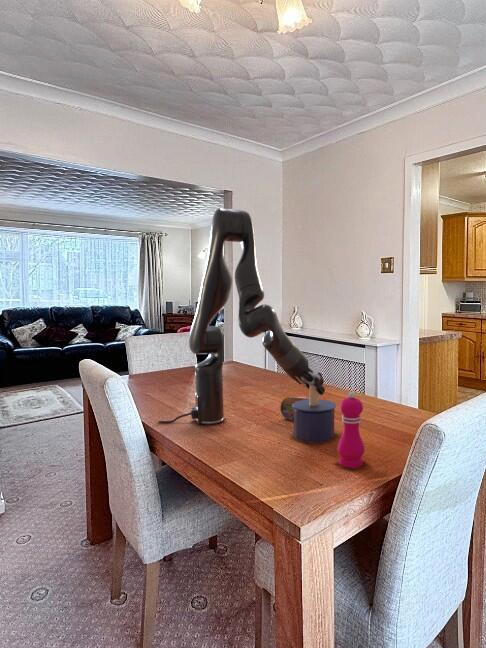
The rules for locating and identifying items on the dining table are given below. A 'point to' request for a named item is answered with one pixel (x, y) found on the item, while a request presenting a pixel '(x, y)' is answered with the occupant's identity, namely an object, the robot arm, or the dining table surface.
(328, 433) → the can
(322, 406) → the lid
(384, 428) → the dining table surface
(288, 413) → the tin
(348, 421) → the pepper mill
